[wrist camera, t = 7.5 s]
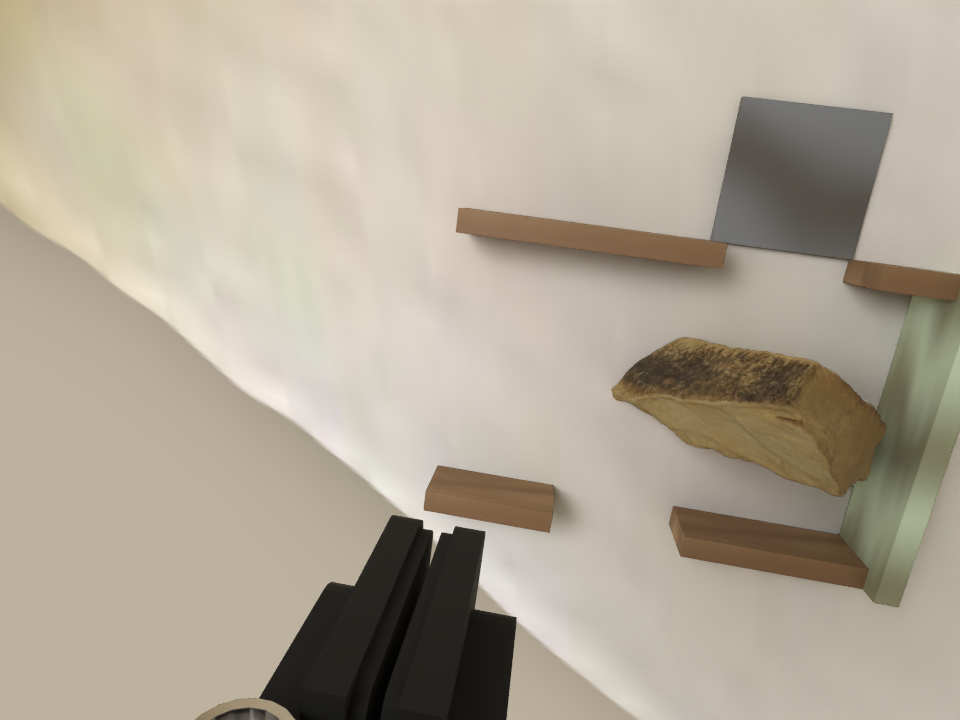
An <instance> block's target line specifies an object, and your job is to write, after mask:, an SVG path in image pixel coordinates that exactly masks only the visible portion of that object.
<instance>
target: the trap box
mask: <svg viewBox="0 0 960 720" xmlns="http://www.w3.org/2000/svg"><path fill="white" fill-rule="evenodd" d="M892 115H893V113H884V112H876V111H867V110H858V109H849V108H840V107H831V106H822V105H814V104H805V103H796V102H787V101H778V100H769V99H760V98H752V97H742V98H741V102H740V106H739V111H738V115H737V120H736V125H735V129H734V134H733V138H732V143H731V148H730V152H729V157H728V161H727V166H726V170H725V175H724V180H723V184H722V189H721V193H720V198H719V202H718V207H717V212H716V216H715V221H714V225H713V230H712V235H711V239H710V241H709V240H702V239H694V238H687V237H679V236H672V235H664V234H657V233H649V232H642V231H634V230H627V229H620V228H612V227H605V226H597V225H590V224H582V223H575V222H567V221H560V220H552V219H545V218H537V217H530V216H522V215H515V214H508V213H500V212H493V211H485V210H478V209H470V208H459V210H458V219H457V227H456V232H458V233H465V234H472V235H480V236H487V237H494V238H502V239H509V240H516V241H523V242H531V243H538V244H545V245H552V246H560V247H567V248H574V249H581V250H589V251H596V252H603V253H610V254H618V255H625V256H632V257H639V258H647V259H654V260H661V261H668V262H676V263H683V264H690V265H698V266H705V267H712V268H719V269H722V268H723V264H724V259H725V255H726V250H727V246H728V244H725V243H731V244H738V245H746V246H753V247H761V248H768V249H776V250H783V251H791V252H798V253H805V254H813V255H820V256H828V257H835V258H843V259H849V262H848V265H847V269H846V272H845V276H844V280H843V282H846V283H850V284H854V285H858V286H862V287H866V288H870V289H874V290H879V291H886V292H894V293H901V294H908V295H913V296H912V299H911V302H910V306H909V309H908V312H907V315H906V319H905V322H904V325H903V328H902V332H901V335H900V338H899V342H898V345H897V348H896V351H895V355H894V358H893V361H892V364H891V368H890V371H889V374H888V377H887V381H886V384H885V387H884V391H883V394H882V397H881V400H880V404H879V407H878V410H877V412H878V414H880V416H881V420H882V421H884V422H885V424H886V427H887V429H886V432H885V434H884V436H883V438H882V439H881V441H880V442H879V443H878V444H877V445H876V448H875V453H874V457H873V460H872V463H871V467H870V473H869V475H868V478H867V480H866V481H857V482H856V483H855V485H854V489H853V492H852V495H851V498H850V502H849V505H848V508H847V512H846V515H845V518H844V521H843V525H842V528H841V531H840V534H839V535H837V534H831V533H826V532H820V531H814V530H808V529H802V528H797V527H791V526H785V525H779V524H773V523H768V522H762V521H756V520H750V519H745V518H739V517H733V516H727V515H721V514H716V513H710V512H704V511H698V510H692V509H687V508H681V507H675V506H673V509H672V514H671V518H670V522H669V525H670V528H671V531H672V534H673V537H674V539H675V542H676V545H677V548H678V551H679V554H680V556H681V557H687V558H692V559H698V560H704V561H709V562H715V563H720V564H726V565H731V566H737V567H743V568H748V569H754V570H759V571H765V572H770V573H776V574H782V575H787V576H793V577H798V578H804V579H809V580H815V581H820V582H826V583H832V584H837V585H843V586H848V587H854V588H859V589H863V590H864V591H865V592H866V594H867V595H868V596H869V597H870V599H871V600H872V601H873V602H874V603H877V604H883V605H888V606H894V607H899V604H900V601H901V598H902V596H903V593H904V590H905V587H906V584H907V581H908V578H909V575H910V572H911V569H912V566H913V564H914V561H915V558H916V555H917V552H918V549H919V546H920V543H921V540H922V537H923V534H924V532H925V529H926V526H927V523H928V520H929V517H930V514H931V511H932V508H933V505H934V502H935V500H936V497H937V494H938V491H939V488H940V485H941V482H942V479H943V476H944V473H945V470H946V468H947V465H948V462H949V459H950V456H951V453H952V450H953V447H954V444H955V441H956V438H957V436H958V433H959V430H960V274H954V273H948V272H941V271H933V270H926V269H918V268H911V267H903V266H896V265H888V264H881V263H873V262H866V261H858V260H852V259H853V255H854V252H855V248H856V245H857V241H858V237H859V234H860V230H861V227H862V223H863V219H864V216H865V212H866V209H867V205H868V201H869V198H870V194H871V190H872V187H873V183H874V180H875V176H876V172H877V169H878V165H879V162H880V158H881V154H882V151H883V147H884V144H885V140H886V136H887V133H888V129H889V126H890V122H891V118H892ZM715 241H716V242H715ZM720 242H723V243H720ZM553 488H554V486H553V485H548V484H542V483H536V482H530V481H524V480H519V479H513V478H507V477H501V476H496V475H490V474H484V473H478V472H472V471H467V470H461V469H455V468H449V467H443V466H437V469H436V471H435V473H434V475H433V477H432V479H431V481H430V483H429V485H428V487H427V490H426V494H425V502H424V510H425V511H431V512H436V513H442V514H448V515H453V516H459V517H464V518H470V519H475V520H481V521H487V522H492V523H498V524H503V525H509V526H514V527H520V528H525V529H531V530H537V531H542V532H548V533H550V528H551V522H552V516H553Z"/></svg>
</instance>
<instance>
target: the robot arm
mask: <svg viewBox="0 0 960 720" xmlns="http://www.w3.org/2000/svg"><path fill="white" fill-rule="evenodd" d="M432 540H433V531H432V530H426V529H423V520H418V519H412V518H407V517H401V516H396V515H392V516H391V518H390V519H389V521H388V523H387V525H386V527H385V529H384V531H383V533H382V535H381V537H380V539H379V541H378V542H377V544H376V546H375V548H374V550H373V552H372V554H371V556H370V558H369V560H368V561H367V563H366V565H365V567H364V569H363V571H362V573H361V575H360V577H359V579H358V581H357V582H356V584H355V586H350V585H345V584H339V583H334V582H331V583H329V584H328V585H327V586H326V587H325V589H324V590H323V592H322V594H321V595H320V597H319V599H318V600H317V602H316V604H315V605H314V607H313V609H312V610H311V612H310V614H309V615H308V617H307V619H306V620H305V622H304V624H303V626H302V627H301V629H300V631H299V632H298V634H297V635H296V637H295V639H294V641H293V642H292V644H291V646H290V647H289V649H288V651H287V652H286V654H285V656H284V657H283V659H282V661H281V662H280V664H279V666H278V667H277V669H276V671H275V672H274V674H273V676H272V678H271V679H270V681H269V683H268V684H267V686H266V688H265V689H264V691H263V693H262V694H261V696H260V698H259V699H258V698H248V699H237V700H233V701H230V702H226V703H223V704H219V705H218V706H216V707H214V708H212V709H210V710H208V711H207V712H205V713H203V714H201V715H200V716H199V717H198V718H197V719H196V720H506V718H507V708H508V698H509V689H510V688H509V687H510V679H511V669H512V659H513V650H514V640H515V630H516V617H512V616H506V615H501V614H496V613H491V612H486V611H480V610H475V603H476V595H477V589H478V582H479V575H480V568H481V561H482V554H483V547H484V540H485V531H479V530H473V529H468V528H462V527H457V526H455V528H454V531H453V534H448V533H443V532H442V533H441V536H440V538H439V541H438V544H437V547H436V550H435V553H434V556H433V559H432V561H431V564H430V557H431V548H432ZM429 566H430V567H429Z"/></svg>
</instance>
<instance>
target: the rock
mask: <svg viewBox="0 0 960 720" xmlns="http://www.w3.org/2000/svg"><path fill="white" fill-rule="evenodd" d="M612 393H613V397H614V398H615V399H616V400H620V401H625V402H628V403H630V404H632V405H634V406H635V407H637V408H639V409H640V410H642V411H644V412H646V413H648V414H650V415H652V416H653V417H655V418H656V419H657V420H658V421H659V422H660V423H662V424H664V425H666V426H667V427H668V428H669V429H671V430H672V431H674V432H675V433H676V435H677V436H678V437H679V438H680V439H681V440H683V441H684V442H685V443H687V444H689V445H692V446H695V447H699V448H707V449H714V450H716V451H718V452H720V453H721V454H723V455H724V456H726V457H729V458H734V459H741V460H743V461H747V462H754V463H757V464H759V465H761V466H764V467H766V468H768V469H770V470H771V471H773V472H774V473H776V474H778V475H779V476H781V477H783V478H786V479H789V480H792V481H795V482H799V483H802V484H805V485H809V486H812V487H816V488H819V489H822V490H824V491H825V492H827V493H829V494H831V495H834V496H838V497H844V494H845V493H846V491H847V490H848V488H849V487H850V486H851V485H852V484H854V483H856V482H857V481H866V480H867V478H868V475H869V473H870V467H871V463H872V460H873V457H874V453H875V448H876V445H877V444H878V443H879V442H880V441H881V439H882V438H883V436H884V434H885V432H886V429H887V427H886V424H885V422H884V421H882V420H881V416H880V414H878V412H877V410H876V409H875V408H874V406H873V405H871V404H869V403H866V402H864V401H863V400H862V399H861V397H860V396H859V395H858V394H857V393H856V392H854V390H853V389H852V388H851V387H850V385H848V384H847V383H846V382H845V381H843V380H842V379H841V378H840V377H839V376H838V374H836V373H834V372H833V371H831V370H829V369H827V368H825V367H823V366H821V365H820V364H819V363H818V362H815V361H812V360H809V359H804V358H796V357H791V356H785V355H783V354H775V353H771V352H768V351H755V350H749V349H745V350H743V349H741V348H729V347H726V346H724V345H720V344H715V343H708V342H706V341H703V340H700V339H692V338H687V337H683V338H678V339H677V340H675V341H673V342H671V343H669V344H667V345H665V346H664V347H662V348H660V349H658V350H656V351H655V352H653V353H652V354H650V355H649V356H647V357H645V358H643V359H641V360H640V361H638V362H637V363H636V364H635V365H634V366H633V367H632V368H631V369H630V370H629V371H628V372H627V373H626V374H625V375H624V377H623V378H622V379H621V381H620V382H619V383H618V384H617V385H616V386H615V387H613V388H612Z"/></svg>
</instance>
